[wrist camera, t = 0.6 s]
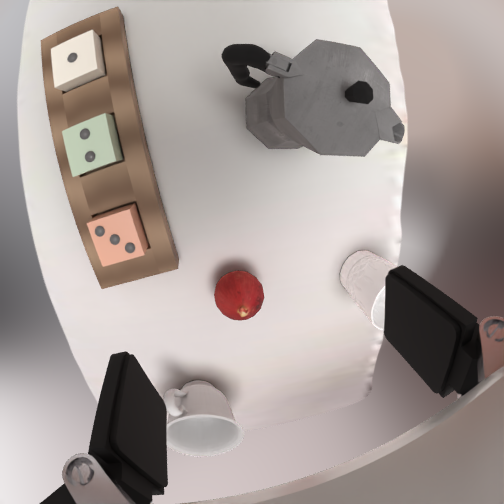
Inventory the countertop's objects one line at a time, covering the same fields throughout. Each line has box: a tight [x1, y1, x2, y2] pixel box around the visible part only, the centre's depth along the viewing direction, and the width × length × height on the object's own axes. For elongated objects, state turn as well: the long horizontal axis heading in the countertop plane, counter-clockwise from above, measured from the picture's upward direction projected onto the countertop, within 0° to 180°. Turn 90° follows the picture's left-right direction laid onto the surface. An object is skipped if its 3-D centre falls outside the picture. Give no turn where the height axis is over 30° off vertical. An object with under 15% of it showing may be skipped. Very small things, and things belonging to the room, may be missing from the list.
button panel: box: [41, 7, 179, 289], centre depth 27 cm, size 32×10×3 cm, turn 12°
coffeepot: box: [222, 39, 404, 157], centre depth 23 cm, size 15×9×18 cm, turn 69°
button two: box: [62, 113, 123, 177], centre depth 25 cm, size 5×5×3 cm
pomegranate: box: [214, 270, 264, 320], centre depth 34 cm, size 6×6×8 cm
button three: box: [87, 203, 149, 267], centre depth 29 cm, size 5×5×3 cm
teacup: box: [164, 380, 244, 457], centre depth 39 cm, size 12×15×10 cm
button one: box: [51, 30, 106, 92], centre depth 21 cm, size 5×5×3 cm
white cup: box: [340, 250, 398, 330], centre depth 37 cm, size 8×8×10 cm
